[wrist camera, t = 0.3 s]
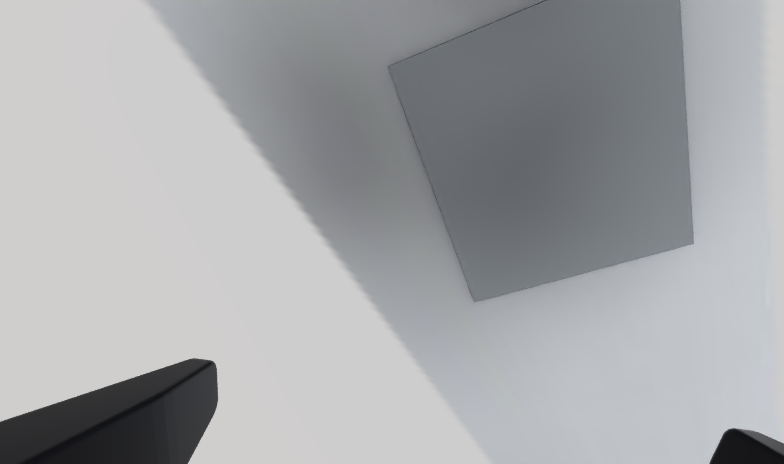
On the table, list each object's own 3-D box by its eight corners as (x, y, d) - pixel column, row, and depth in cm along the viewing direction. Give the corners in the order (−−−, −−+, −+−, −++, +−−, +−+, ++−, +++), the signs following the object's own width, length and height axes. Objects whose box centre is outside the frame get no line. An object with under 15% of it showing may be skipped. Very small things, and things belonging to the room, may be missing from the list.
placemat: (388, 66, 18) (388, 67, 18) (672, -53, 15) (676, -55, 15) (473, 299, 24) (474, 302, 24) (690, 241, 21) (693, 243, 21)
